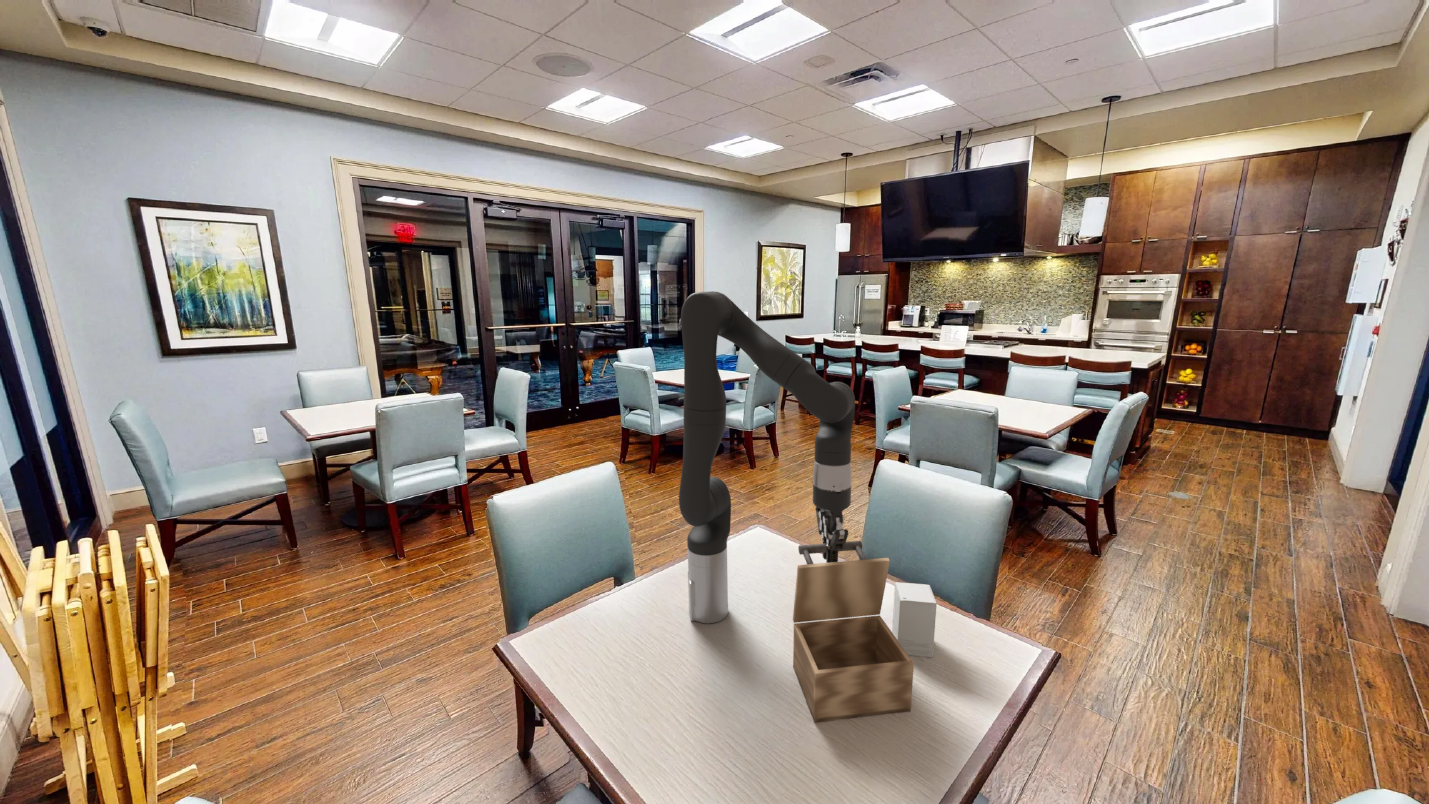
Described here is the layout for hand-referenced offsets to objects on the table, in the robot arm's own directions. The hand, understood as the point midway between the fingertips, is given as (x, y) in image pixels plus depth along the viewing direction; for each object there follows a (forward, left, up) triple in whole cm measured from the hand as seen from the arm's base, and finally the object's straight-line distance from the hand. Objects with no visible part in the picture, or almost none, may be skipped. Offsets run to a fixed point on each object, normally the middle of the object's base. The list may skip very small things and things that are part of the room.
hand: (830, 561), depth 107 cm
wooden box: (0, -12, -20) cm, 23 cm away
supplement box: (+18, -2, -20) cm, 27 cm away
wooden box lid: (0, -7, -3) cm, 7 cm away
